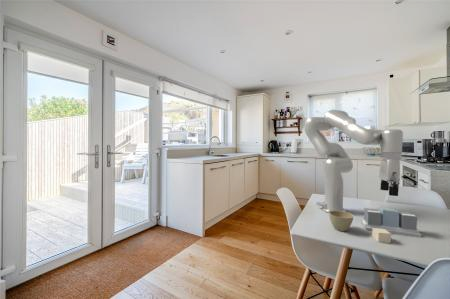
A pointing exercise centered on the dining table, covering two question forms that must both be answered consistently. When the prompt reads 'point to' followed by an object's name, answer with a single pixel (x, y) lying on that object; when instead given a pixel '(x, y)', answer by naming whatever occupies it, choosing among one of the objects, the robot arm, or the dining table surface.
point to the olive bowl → (341, 220)
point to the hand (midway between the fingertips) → (388, 192)
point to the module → (389, 217)
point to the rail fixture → (405, 227)
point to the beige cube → (381, 235)
